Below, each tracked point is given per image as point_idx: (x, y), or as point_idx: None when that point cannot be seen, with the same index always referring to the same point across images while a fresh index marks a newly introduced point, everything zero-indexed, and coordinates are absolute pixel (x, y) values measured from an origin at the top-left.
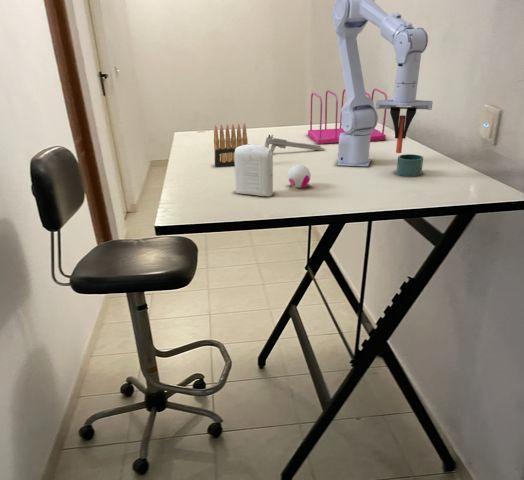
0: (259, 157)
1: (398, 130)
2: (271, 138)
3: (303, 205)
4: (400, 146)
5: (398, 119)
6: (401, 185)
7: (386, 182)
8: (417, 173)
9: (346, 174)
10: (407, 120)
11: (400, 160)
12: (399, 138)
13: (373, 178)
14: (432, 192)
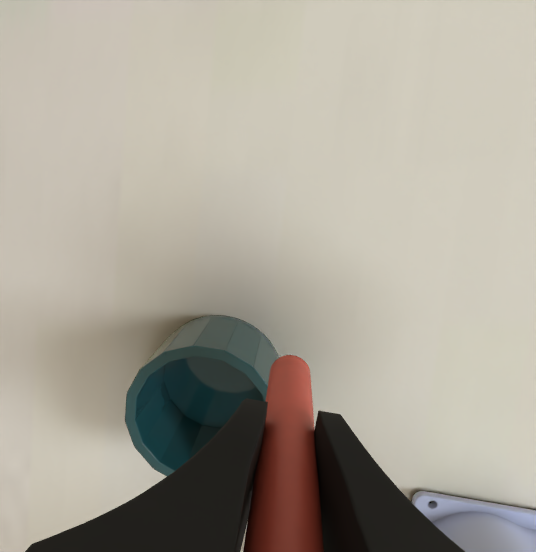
0: None
1: (317, 484)
2: None
3: None
4: (281, 377)
5: (371, 545)
6: (280, 144)
7: (355, 202)
8: (178, 330)
9: None
10: (205, 504)
11: (268, 378)
12: (297, 413)
13: (416, 280)
14: (128, 8)
